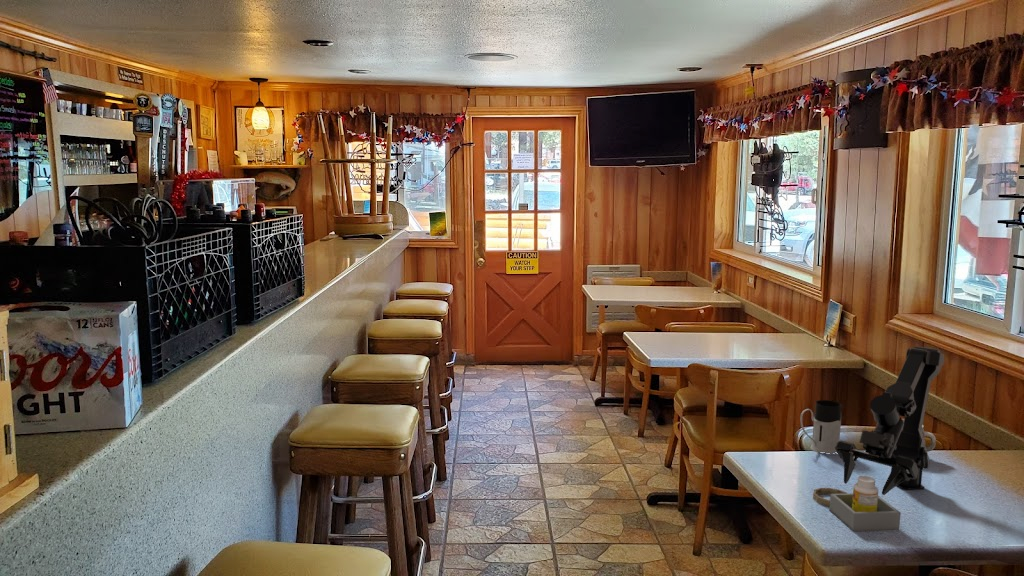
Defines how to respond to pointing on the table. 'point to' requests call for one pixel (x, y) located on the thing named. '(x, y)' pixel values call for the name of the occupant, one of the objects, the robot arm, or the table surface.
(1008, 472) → the table surface
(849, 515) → the bin
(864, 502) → the supplement bottle
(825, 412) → the glass holder
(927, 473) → the table surface
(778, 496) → the table surface
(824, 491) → the stud collar
